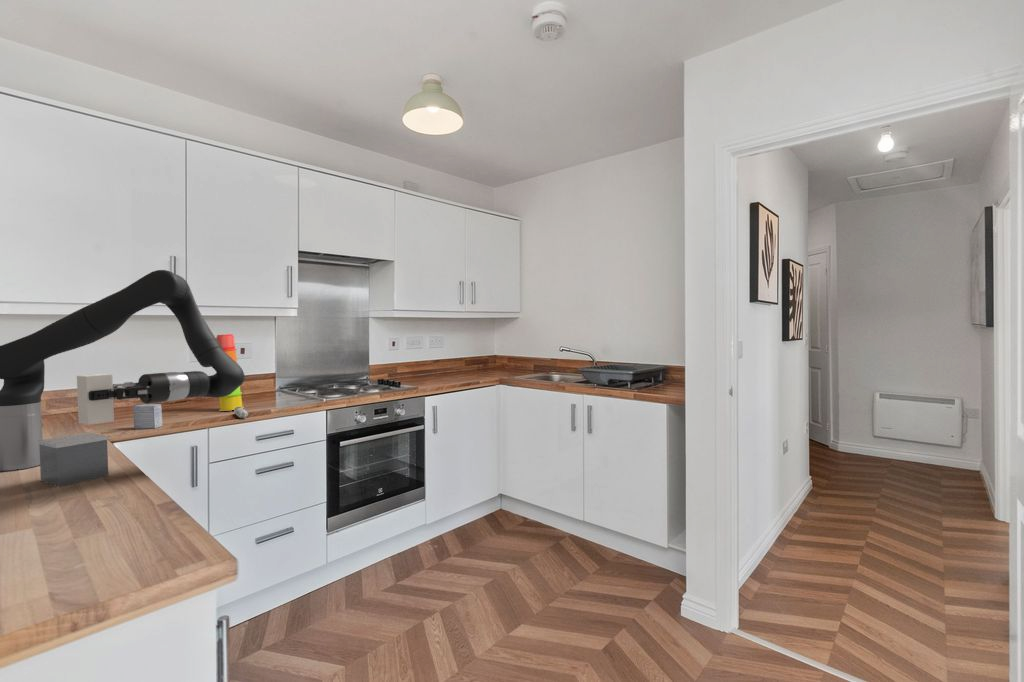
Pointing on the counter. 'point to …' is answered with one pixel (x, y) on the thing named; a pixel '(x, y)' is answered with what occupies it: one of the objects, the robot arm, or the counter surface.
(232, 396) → the stacking cups
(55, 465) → the block
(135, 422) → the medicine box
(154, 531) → the counter surface
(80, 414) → the cream block
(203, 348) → the robot arm
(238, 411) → the grey rock
